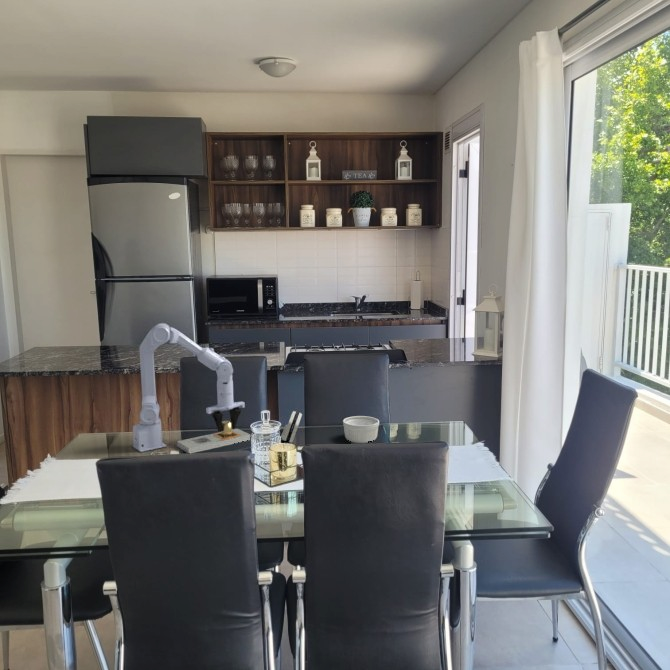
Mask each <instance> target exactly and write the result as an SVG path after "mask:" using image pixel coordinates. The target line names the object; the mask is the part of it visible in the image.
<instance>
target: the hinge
mask: <svg viewBox="0 0 670 670" xmlns="http://www.w3.org/2000/svg"><path fill="white" fill-rule="evenodd" d="M302 416H303V414H302V413H301V412H299V413H298V412H297V411H294V410H293V411H292V413H291V415H290V418H289V421H288V423H287V424H285V425H284V428H283V431H282V433H281V436H280V437H281V438H282V439H281V441H284V442H285V441H288V442H289V443H293V441H294V439H295V436H296V433H297V431H298V428H299V425H300V422H301V419H302Z"/></svg>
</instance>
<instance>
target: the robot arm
mask: <svg viewBox="0 0 670 670" xmlns="http://www.w3.org/2000/svg"><path fill="white" fill-rule="evenodd" d="M167 342H169V344H178V345H180V346H181V347H183V348H185V349H187V350H188V351H190V352H191V353H193V354H194V355H196V356H197V361H198V362H200V364H201V363H202V365H203V366H205V367H207V368H208V369H210V370H211V371H216V375H217V378H216V379H217V381H216V391H217V392H216V393H217V396H216V397H217V404H215V405H212V406H209V407H206V409H205V410H206V414H208V415H211V417H212V418H213V421H214V423H215V425H216V429H217V431H218V432H222V421H223V417H224V414H223V413H221V412H225V411H229V415H230V416H229V417H230V421H232V430H233V429H237V428H236V427H237V423H238V419H239V417H240V415H241V413H242V408H243V409H245V407H246V406H245V405H246V404H245V402H244V401H237V402H236V401H234V381H233V373H234V368H233V366H232V365H233V364H232V363H231V362H230V360H229V359H228V358H226V357H224V356H223V355H222V356H221V355H220V354H218V353H216V352H215V349H214V348H213V347H201V345H199V344H197V343H196V342H194V341H193V340H192V339H190V338H189V337H188V336H187V335H185V334H184V333H182V332H181V331H179V329H176V328H174V327H173V326H170V324H169V325H168V324H167V323H165V322H161V323H157V324H156V325H154V326H153V327H152V328H150V330H149V331H148V333H147V334H146V336H145V338H144V339H143V340H142V342H141V343H140V345H139V363H140V365H139V366H140V379H141V381H140V383H141V410H140V412H139V419H140V420H139V423H138V424H134V425H133V427H132V440H133V441H132V442H133V445H132V447H133V448H134V449H135V450H137V451H138V452H140V453H142V452H147V451H151V450H156V449H161V448H165V447H167V444H165V443H164V442H163V434H162V433H163V431H162V418H160V416H159V414H160V412H161V406H160V404H159V403H158V399H157V392H156V391H157V389H156V373H155V353H154V351H156V350H157V349H158V348H159V347H160V346H162V345H165V344H166V343H167ZM240 408H241V409H240Z"/></svg>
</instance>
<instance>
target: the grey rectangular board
mask: <svg viewBox="0 0 670 670" xmlns="http://www.w3.org/2000/svg"><path fill="white" fill-rule="evenodd" d="M250 437H251V434H250V433H249V432H245V431H244V430H241V429H239V428H235V429H233V428H232V436H230V437H225V438H223V437H221V432H220V431H218V432H214V433H211V434H205V435H199V436H195V437H191V438H187V439H181V440H177V441H176V446H177V448H179V449H181V450H183V451H184V452H185V453H186V454H188V453H190V454H194V453H198V452H203V451H208V450H212V449H217V448H221V447H225V446H230V445H233V444H234V443H235V444H238V442H239V443H243V442H242V441H244V442H248V441H250ZM251 438H252V437H251ZM247 440H248V441H247Z"/></svg>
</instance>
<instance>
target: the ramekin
mask: <svg viewBox="0 0 670 670" xmlns="http://www.w3.org/2000/svg"><path fill="white" fill-rule="evenodd" d="M342 425H343V431H344V432H343V433H344V437H345V439H346V440H347V441H348V440H349V441H348V442H350V441H351V442H350V443H354V444H367V443H368V441H372V442H374V441H375V440H376V439H377V437H378V432H379V426H380V420H379V419H378V418H375V417H372V416H365V415H356V416H355V415H354V416H349V417H345V418H344V419H343V420H342ZM373 440H374V441H373ZM368 444H369V443H368Z"/></svg>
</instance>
